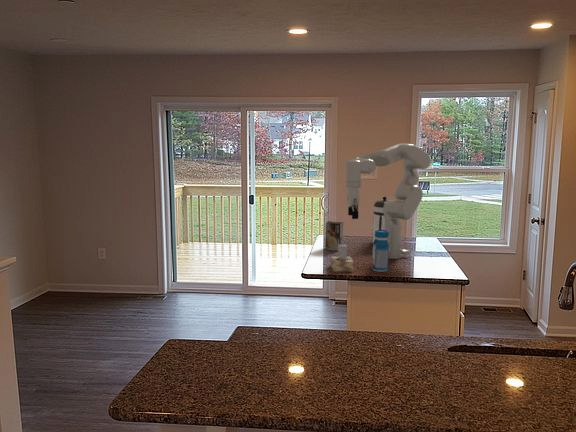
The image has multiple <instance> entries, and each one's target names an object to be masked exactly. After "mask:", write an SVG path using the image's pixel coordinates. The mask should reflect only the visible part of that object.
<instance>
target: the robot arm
mask: <svg viewBox="0 0 576 432" xmlns="http://www.w3.org/2000/svg"><path fill="white" fill-rule="evenodd" d="M401 160H402V166H403V171H404V173H403V176H402V178H401V180H400V182H399V184H398V185H397V187H396V189H395V191H394V197H395V199H390V200H389V199H388V200H386V201H387V202H386V203H385V204H384V207H383V212H384V220H385V223H384V230H387V231H389V237H388V238H387V239H388V241H389V244H390V246H389V249H390V251H389V260H400V259H402V258H403V257H404V255H405V254H407V255H409V254H410V250H408V249H407V250H406V249H402V248H401V247H402V231H403V225H402V224H403V223H402V220H404V221H405V220H406V221H407V220H410V219H411V218H412V217H413V216H414V214H415V213H416V211H417V209H418V207H419V205H420V203H421V202H422V199H423V196H424V195H423V194H424V192H423V189H422V188H421V186H419V185H417V184H418V182H419V177H420V176H419V173H418V170H426V169H428V168H429V167H430V165H431V163H432V162H431V157H430V155H429V154H428V153H427V152H426V151H424V150H422V149H421V148H419V147H418V146H416V145H415V144H411V143H398V144H394V145H392V146H390V147H387V148H385V149H381V150H378V151H377V150H376V151H374V152H369V153H366V154H362V155H360V156H357V157H354V159H350V160H349V159H348V160H347V161H345V188H347V189H346V206H348V207H347V208H348V209H347V210H348V211H347V215H348V216H351V220H358V219H359V206H360V188H361V186H362V184H361V183H362V180H361V179H362V177H361V176H362V174H367V175H368V174H369V175H370V174H373V172H375V170H376V169H377V167H386V166H389V165H391V164H393V163H396V162H399V161H401Z"/></svg>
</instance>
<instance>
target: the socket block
mask: <svg viewBox="0 0 576 432" xmlns="http://www.w3.org/2000/svg"><path fill="white" fill-rule="evenodd" d="M354 266H355V262H354V260H353V258H352V257H351V256H347V260H338V256H330V268H331V270H332V271H333V272H354V270H355V269H354Z"/></svg>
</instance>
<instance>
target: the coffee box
mask: <svg viewBox="0 0 576 432" xmlns="http://www.w3.org/2000/svg"><path fill="white" fill-rule="evenodd" d="M343 231H344V222H342V221H331V220H329V221H326V222H325V246H324V249H325V251H336V252H338V245H343V239H344V238H343V234H344V233H343Z"/></svg>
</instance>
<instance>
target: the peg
mask: <svg viewBox="0 0 576 432" xmlns="http://www.w3.org/2000/svg"><path fill="white" fill-rule="evenodd" d="M337 252H338V253H337V257H338V260H347V257H348V245H347V244H342V245H338V251H337Z"/></svg>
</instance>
